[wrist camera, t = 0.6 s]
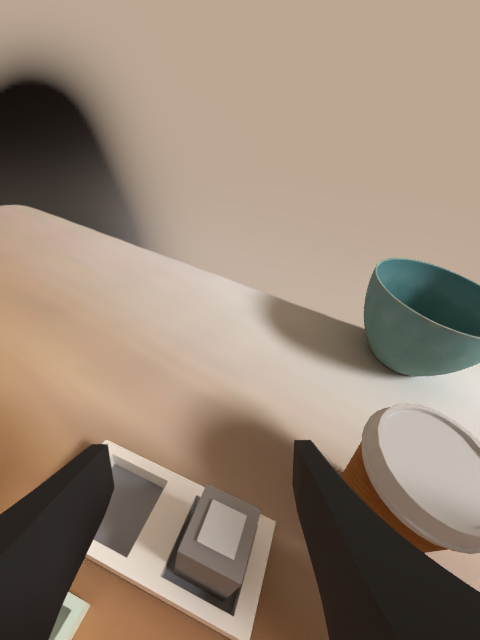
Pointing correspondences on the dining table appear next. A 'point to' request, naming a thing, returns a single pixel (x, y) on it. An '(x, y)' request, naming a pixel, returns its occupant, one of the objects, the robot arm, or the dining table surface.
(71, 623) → the tray
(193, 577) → the twin plug
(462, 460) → the disposable coffee cup
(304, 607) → the dining table surface
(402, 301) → the teal bowl
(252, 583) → the strip
